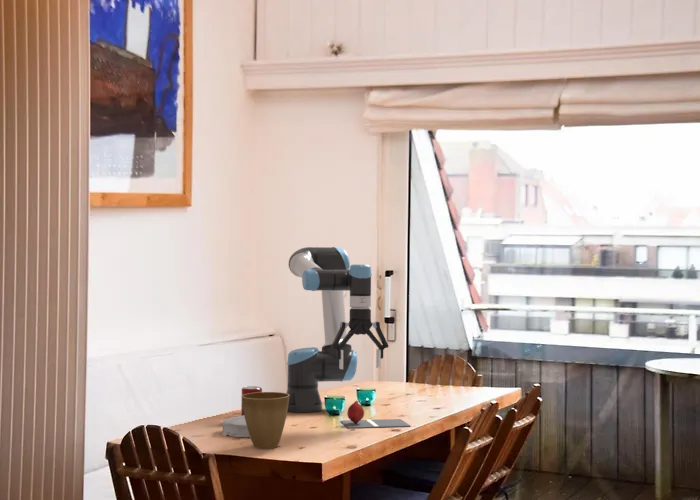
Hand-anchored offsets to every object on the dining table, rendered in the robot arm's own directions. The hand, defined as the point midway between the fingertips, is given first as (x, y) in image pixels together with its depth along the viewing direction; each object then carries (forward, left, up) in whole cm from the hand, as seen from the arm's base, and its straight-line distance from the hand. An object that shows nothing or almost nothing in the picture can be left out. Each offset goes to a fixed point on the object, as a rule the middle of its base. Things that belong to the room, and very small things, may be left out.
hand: (359, 368), depth 353 cm
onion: (-2, -2, -19) cm, 19 cm away
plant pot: (-38, -36, -20) cm, 56 cm away
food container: (-40, -11, -20) cm, 46 cm away
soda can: (-37, +11, -20) cm, 43 cm away
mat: (+5, -2, -19) cm, 20 cm away
